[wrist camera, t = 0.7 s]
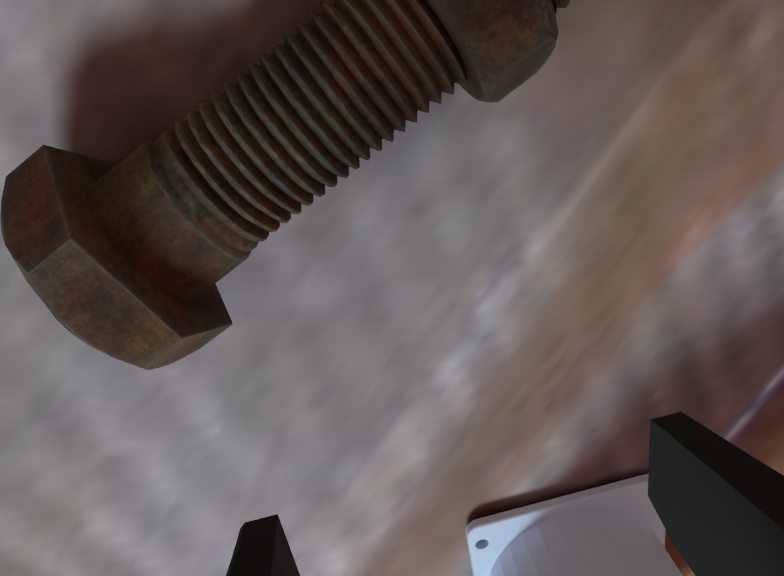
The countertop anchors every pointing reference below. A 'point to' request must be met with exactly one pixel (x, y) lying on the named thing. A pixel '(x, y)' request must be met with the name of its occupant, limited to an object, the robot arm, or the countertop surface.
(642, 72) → the countertop surface
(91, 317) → the bolt
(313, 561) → the countertop surface
